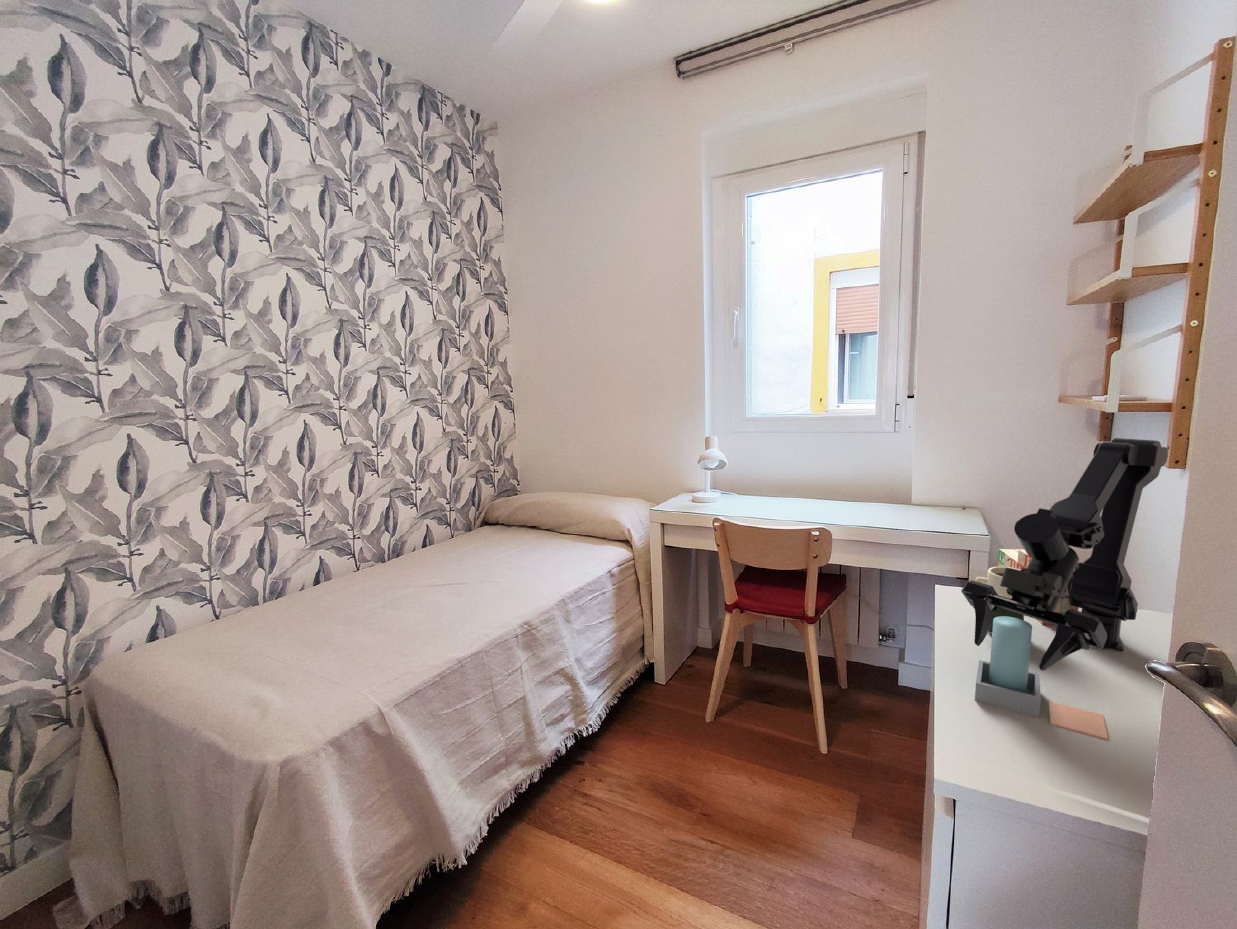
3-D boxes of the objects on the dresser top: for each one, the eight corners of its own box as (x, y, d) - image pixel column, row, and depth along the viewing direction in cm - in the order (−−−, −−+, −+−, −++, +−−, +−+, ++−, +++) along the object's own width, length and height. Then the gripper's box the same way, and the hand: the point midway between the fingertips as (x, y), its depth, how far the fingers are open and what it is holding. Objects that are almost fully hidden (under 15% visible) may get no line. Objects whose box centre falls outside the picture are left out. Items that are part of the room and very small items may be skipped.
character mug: (1038, 633, 107) (1043, 571, 105) (1040, 649, 101) (1046, 583, 99) (972, 621, 113) (976, 562, 111) (971, 635, 108) (975, 573, 105)
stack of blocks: (995, 585, 131) (999, 536, 129) (1025, 586, 130) (1029, 537, 127) (1042, 625, 110) (1047, 568, 108) (1078, 627, 109) (1084, 569, 107)
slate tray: (977, 677, 93) (979, 659, 93) (1037, 692, 88) (1039, 673, 88) (974, 702, 87) (975, 682, 86) (1038, 719, 82) (1040, 699, 81)
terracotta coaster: (1048, 704, 85) (1048, 700, 85) (1102, 718, 82) (1102, 714, 81) (1050, 726, 80) (1050, 722, 80) (1107, 742, 76) (1108, 738, 76)
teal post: (988, 683, 91) (994, 613, 89) (1025, 692, 88) (1032, 620, 86) (987, 697, 87) (992, 625, 85) (1025, 708, 84) (1032, 633, 82)
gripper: (970, 535, 94) (930, 610, 90) (1107, 566, 78) (1064, 659, 74) (991, 569, 99) (953, 641, 95) (1123, 604, 83) (1084, 693, 79)
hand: (1007, 656), depth 86 cm, fingers open, 9 cm apart
